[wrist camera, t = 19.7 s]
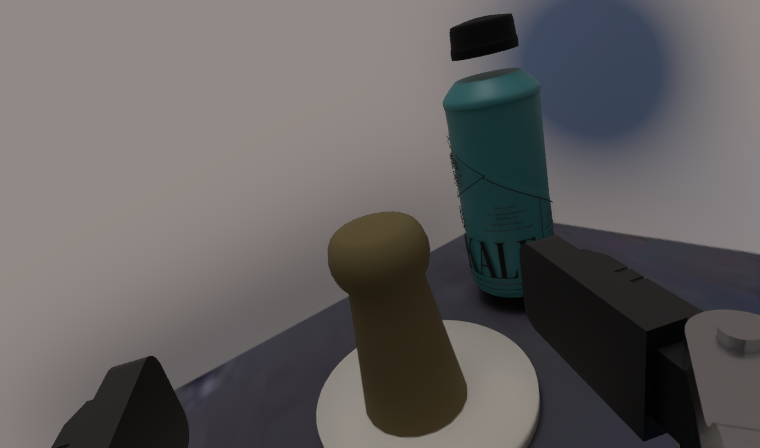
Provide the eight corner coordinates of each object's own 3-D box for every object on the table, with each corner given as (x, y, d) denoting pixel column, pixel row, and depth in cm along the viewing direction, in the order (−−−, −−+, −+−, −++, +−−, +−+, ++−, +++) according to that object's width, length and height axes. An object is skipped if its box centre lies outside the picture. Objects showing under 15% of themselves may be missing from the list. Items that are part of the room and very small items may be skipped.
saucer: (334, 545, 20) (328, 530, 20) (313, 367, 32) (309, 356, 32) (593, 445, 22) (591, 430, 21) (481, 311, 34) (479, 300, 33)
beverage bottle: (537, 263, 38) (508, 10, 31) (580, 303, 32) (556, -3, 25) (463, 284, 38) (416, 33, 31) (492, 328, 32) (442, 26, 24)
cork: (354, 382, 28) (304, 223, 25) (442, 347, 29) (406, 190, 26) (381, 454, 23) (321, 263, 19) (487, 408, 24) (451, 219, 20)
